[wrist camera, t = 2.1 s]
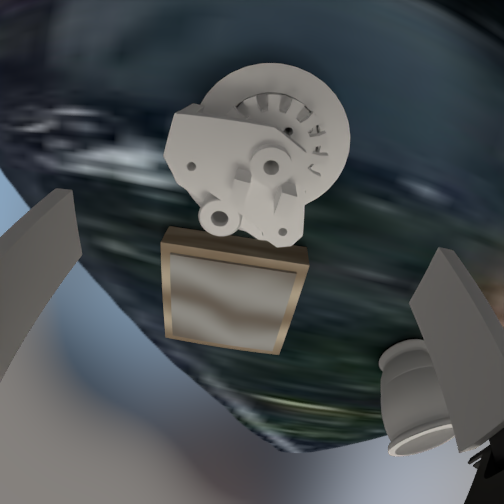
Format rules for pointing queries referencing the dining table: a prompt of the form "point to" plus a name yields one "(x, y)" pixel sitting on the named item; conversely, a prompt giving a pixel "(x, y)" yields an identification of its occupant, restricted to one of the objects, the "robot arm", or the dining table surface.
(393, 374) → the jar
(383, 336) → the dining table surface
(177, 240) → the stand
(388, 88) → the dining table surface
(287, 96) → the mechanical part
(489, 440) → the robot arm
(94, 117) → the dining table surface
